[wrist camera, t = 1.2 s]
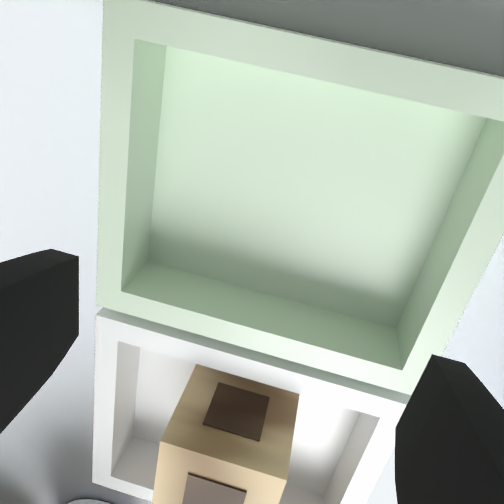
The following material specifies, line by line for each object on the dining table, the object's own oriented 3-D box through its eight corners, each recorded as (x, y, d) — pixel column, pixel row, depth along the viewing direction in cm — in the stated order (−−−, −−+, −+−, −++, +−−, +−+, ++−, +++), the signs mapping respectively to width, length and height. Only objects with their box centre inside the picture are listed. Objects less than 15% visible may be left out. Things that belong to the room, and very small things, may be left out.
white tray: (406, 356, 19) (415, 407, 17) (337, 505, 25) (335, 562, 22) (128, 278, 21) (96, 315, 18) (118, 436, 26) (91, 482, 23)
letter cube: (301, 384, 21) (287, 481, 16) (278, 454, 23) (260, 555, 19) (199, 355, 21) (159, 441, 17) (187, 426, 24) (149, 518, 19)
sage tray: (532, 82, 14) (574, 94, 11) (410, 347, 19) (419, 397, 17) (146, -1, 15) (103, -8, 13) (129, 270, 20) (96, 305, 18)
